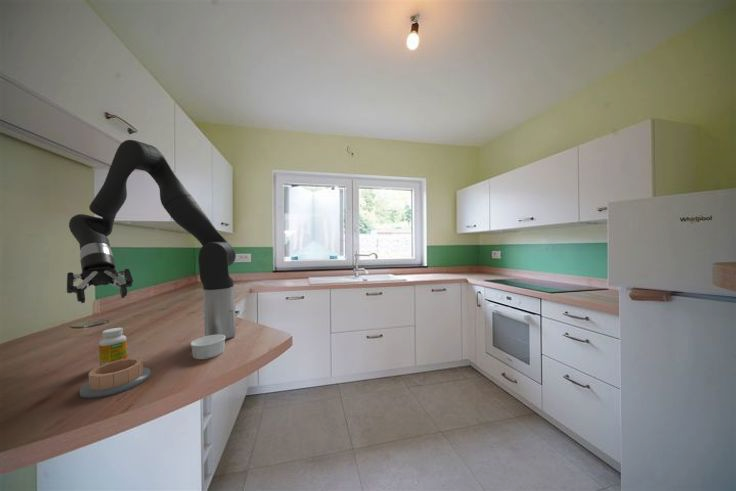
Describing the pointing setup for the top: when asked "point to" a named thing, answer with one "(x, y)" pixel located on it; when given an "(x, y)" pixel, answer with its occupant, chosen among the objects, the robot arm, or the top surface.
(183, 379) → the top surface
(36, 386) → the top surface
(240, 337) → the top surface
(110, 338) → the supplement bottle
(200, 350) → the ramekin
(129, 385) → the holder
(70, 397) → the top surface
